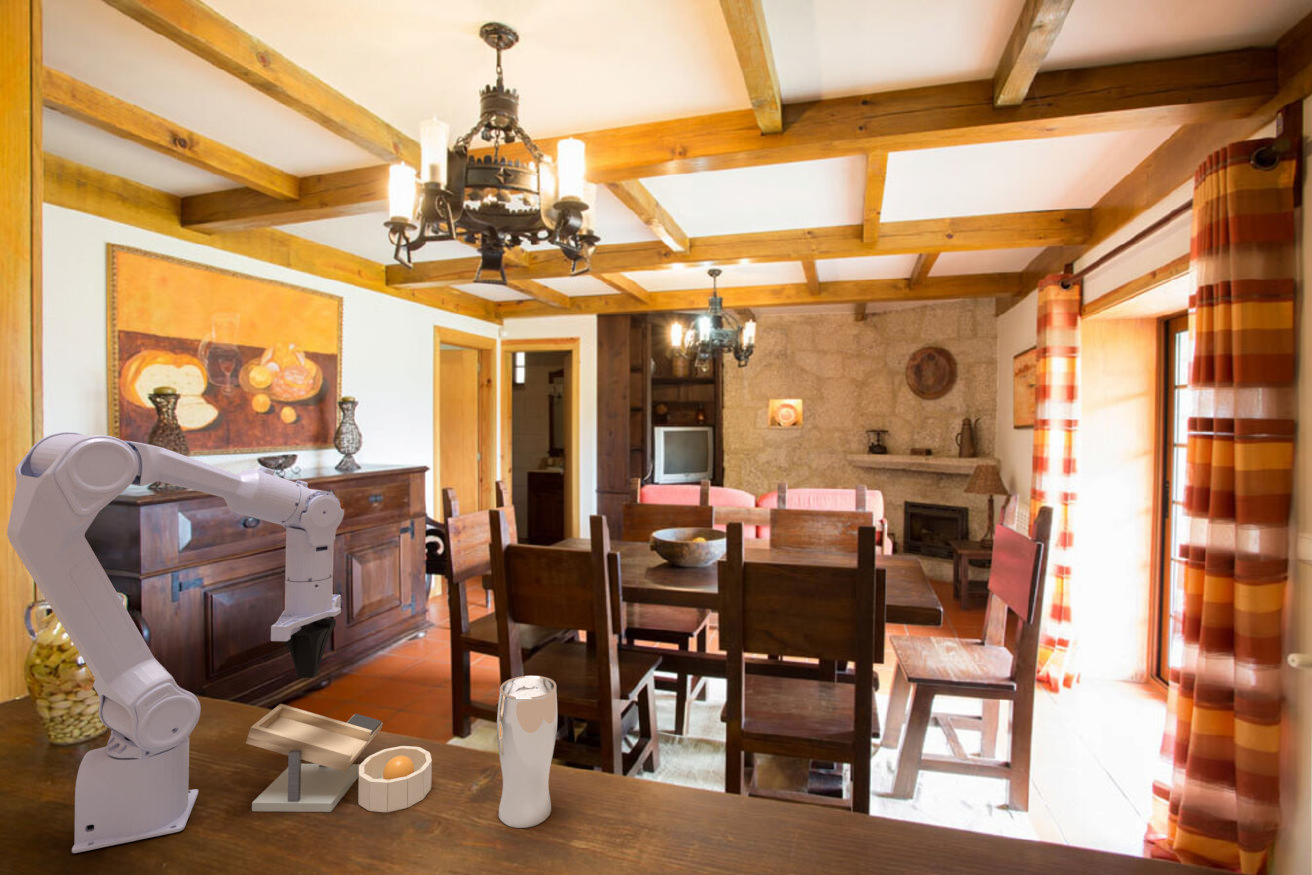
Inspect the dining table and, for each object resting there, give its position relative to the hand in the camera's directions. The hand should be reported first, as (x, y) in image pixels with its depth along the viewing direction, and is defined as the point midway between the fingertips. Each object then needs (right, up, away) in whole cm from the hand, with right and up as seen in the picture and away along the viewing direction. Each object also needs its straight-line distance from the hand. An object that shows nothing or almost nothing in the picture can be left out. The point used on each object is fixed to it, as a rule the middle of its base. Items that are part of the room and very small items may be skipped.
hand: (307, 675), depth 86 cm
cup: (+15, -11, -8) cm, 21 cm away
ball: (+16, -9, -8) cm, 20 cm away
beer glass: (+32, -12, -12) cm, 36 cm away
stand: (+5, -11, -9) cm, 15 cm away
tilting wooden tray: (+5, -5, -7) cm, 10 cm away
